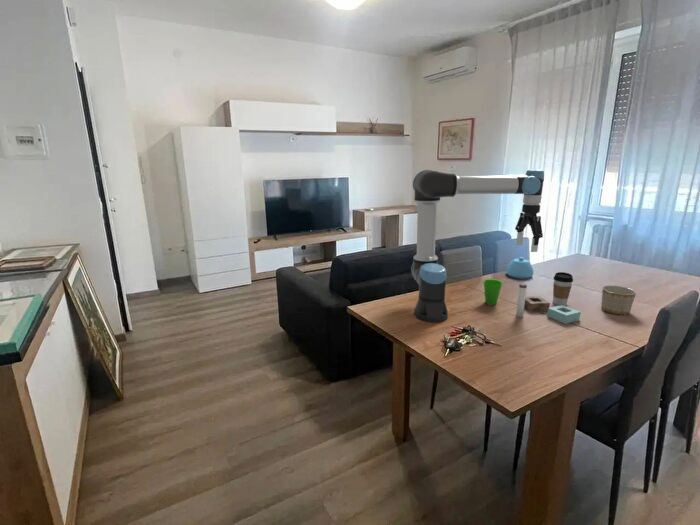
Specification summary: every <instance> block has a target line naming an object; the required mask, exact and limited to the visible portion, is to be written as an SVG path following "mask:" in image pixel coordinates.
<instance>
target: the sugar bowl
mask: <svg viewBox="0 0 700 525" xmlns="http://www.w3.org/2000/svg"><path fill="white" fill-rule="evenodd" d="M506 273H507V275H508V276H509V277H511V278H514V279H522V280H523V279H526V280H527V279H530V278H532V277H533V275H534V267H533V266H532V264H531V262H530V260H528V259H525V257H523V256H518V258H514V259H513V260H511V262H509V264H508V266H507V268H506Z"/></svg>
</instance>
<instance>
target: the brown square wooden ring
mask: <svg viewBox="0 0 700 525" xmlns="http://www.w3.org/2000/svg"><path fill="white" fill-rule="evenodd" d="M550 304H551V302H549V301H547V300H546V299H544V298H543V297H542V296H540V295H537V296H536V295H535V296H526V297H525V305H524V309H526V310H527V311H529V312H548V308H551V307H550Z"/></svg>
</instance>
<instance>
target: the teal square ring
mask: <svg viewBox="0 0 700 525" xmlns="http://www.w3.org/2000/svg"><path fill="white" fill-rule="evenodd" d="M546 314H547V315H546V316H547V317H548V318H550V319H553V320H554V321H557V322H560V323H561V324H564V325H566V323H567V324H570V323H574V322H578V321H580V320H581V318H580V317H581V311H579V310H577V309H574V308H572V307H568V306H566V305H565V306H564V305H555V306H551V307H549V308H548V311H547V313H546Z"/></svg>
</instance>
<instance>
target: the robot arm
mask: <svg viewBox="0 0 700 525" xmlns="http://www.w3.org/2000/svg"><path fill="white" fill-rule="evenodd" d="M544 180H545V172H544V170H543V169H527V170H526V172H525V174H502V175H457V174H456V173H446V172H440V171H438V170H432V169H424V170H421V171H420V172H418V173H417V174H416V175H415V176H414V178H413V181H412V188H413V191H414V200H413V201H414V202H415V203H416V204H417V215H416V216H417V218H416V219H417V221H416V225H417V226H416V227H417V228H416V254H415V255H413V259H412V260H413V261H412V264H411V267H410V271H411V275H412V278H413V279H414V281H416V283H417V284H418V299H417V302H416V305H415V308H414V310H413V311H414V312H413V315H414V317H415V318H416V319H418V320H420V321H424V322H427V323H428V322H429V323H438V322H439V323H440V322H444V321H446V320H447V319H448V316H449V315H448V314H449V311H448V307H447V305H446V298H445V297H446V287H447V286H446V285H447V284H446V283H447V270H446V268H445V266H443V265H442V264H439V257H438V255H436V237H437V236H436V233H437V232H436V231H437V230H436V229H437V228H436V227H437V226H436V225H437V204H438V203H439V202H440V201H441V198H452V197H453V198H454V197H455V196H457V195H503V194H504V195H509V194H510V195H514V194H515V195H523V200H522V203H523V204H522V208H521V212H520V214H519V218H518V220H517V223H516V225H515V227H514V228H515V231H516V233H517V234H516V243H515V245H516V246H523V241H524V232H525V231H524V230H525V229H526V227H527V225H528V226H529V227H530V230H531V232H532V238H531V239H532V240H531V247H530V253H537V252H538V248H539V243H540V239H541V238H544V236H543V228H542V222H541V221H542V219H541V218H542V217H541V216H540V215H537V214H539V213H540V212H541V205H540V204H542V202H541V201H542V194H543V189H544V188H543V187H544Z"/></svg>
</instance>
